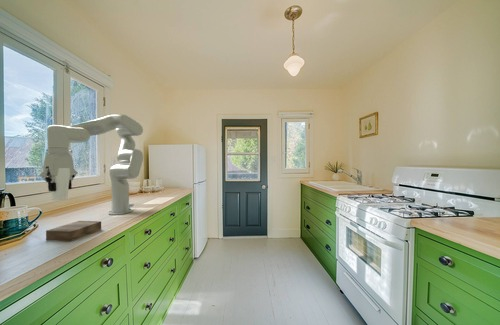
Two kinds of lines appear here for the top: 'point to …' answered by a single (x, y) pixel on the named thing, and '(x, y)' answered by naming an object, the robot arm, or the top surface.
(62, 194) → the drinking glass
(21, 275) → the top surface
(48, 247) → the top surface
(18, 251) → the top surface
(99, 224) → the walnut block
